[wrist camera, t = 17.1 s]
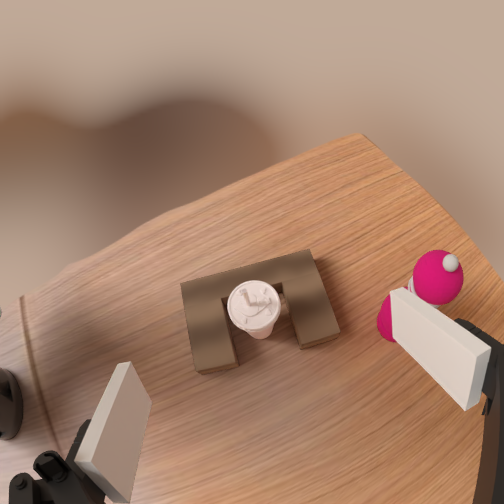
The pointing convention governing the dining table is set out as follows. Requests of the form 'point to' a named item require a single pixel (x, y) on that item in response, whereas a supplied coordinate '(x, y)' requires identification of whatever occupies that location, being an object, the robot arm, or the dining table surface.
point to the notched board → (282, 280)
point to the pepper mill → (427, 285)
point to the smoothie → (254, 308)
